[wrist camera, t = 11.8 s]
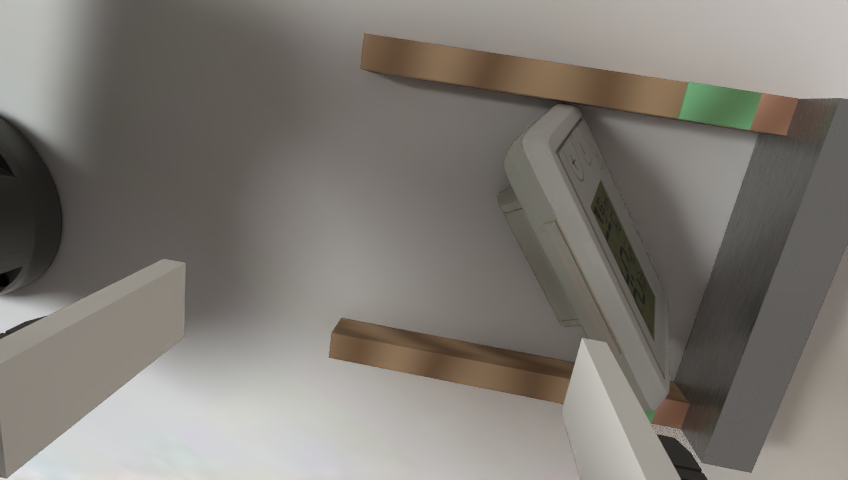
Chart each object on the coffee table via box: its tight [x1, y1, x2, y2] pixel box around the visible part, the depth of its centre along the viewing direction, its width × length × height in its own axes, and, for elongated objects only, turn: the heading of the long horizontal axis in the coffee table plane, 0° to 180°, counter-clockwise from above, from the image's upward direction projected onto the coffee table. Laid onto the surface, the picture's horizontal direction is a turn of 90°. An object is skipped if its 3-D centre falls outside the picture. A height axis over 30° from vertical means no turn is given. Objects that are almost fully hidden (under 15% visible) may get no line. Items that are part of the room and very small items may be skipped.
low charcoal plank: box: [675, 98, 848, 473], centre depth 30 cm, size 3×22×6 cm, turn 171°
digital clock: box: [498, 103, 670, 411], centre depth 28 cm, size 16×9×11 cm, turn 17°
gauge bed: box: [329, 34, 799, 429], centre depth 32 cm, size 28×22×3 cm
